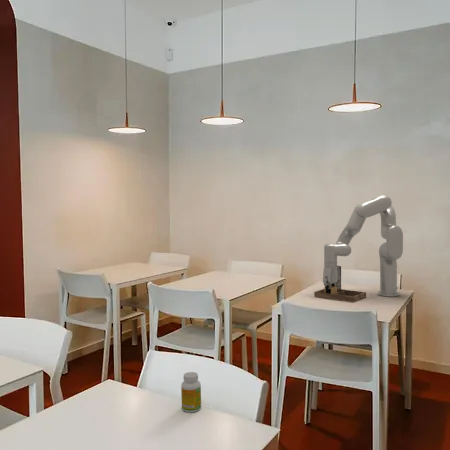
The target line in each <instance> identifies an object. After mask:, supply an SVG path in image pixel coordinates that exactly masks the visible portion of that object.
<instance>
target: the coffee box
mask: <svg viewBox="0 0 450 450" xmlns="http://www.w3.org/2000/svg"><path fill="white" fill-rule="evenodd" d="M337 275H338V279H337V280H338V281H337V284H336V287H337V289H342V265H341V266H340V265H337ZM328 286H329V285H328Z"/></svg>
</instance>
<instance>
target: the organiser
mask: <svg viewBox="0 0 450 450" xmlns="http://www.w3.org/2000/svg"><path fill="white" fill-rule="evenodd" d="M313 296H314V298H320V299H327V300H335V301H341V302H346V303H347V302H348V303H355V302H358V301H361V300H363V299H366V298H367V291H366V292H365V291H356V290H351V289H350V290H349V289H342V288H341V289H337V293H335V294H329V293H324V288H323V289H320V290H316V291H314V292H313Z"/></svg>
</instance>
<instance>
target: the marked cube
mask: <svg viewBox="0 0 450 450" xmlns="http://www.w3.org/2000/svg"><path fill="white" fill-rule="evenodd" d="M323 289H324V293H326V289H325V286H324V287H323ZM330 289H331V294H335V293H337V287H335V286H330Z"/></svg>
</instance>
